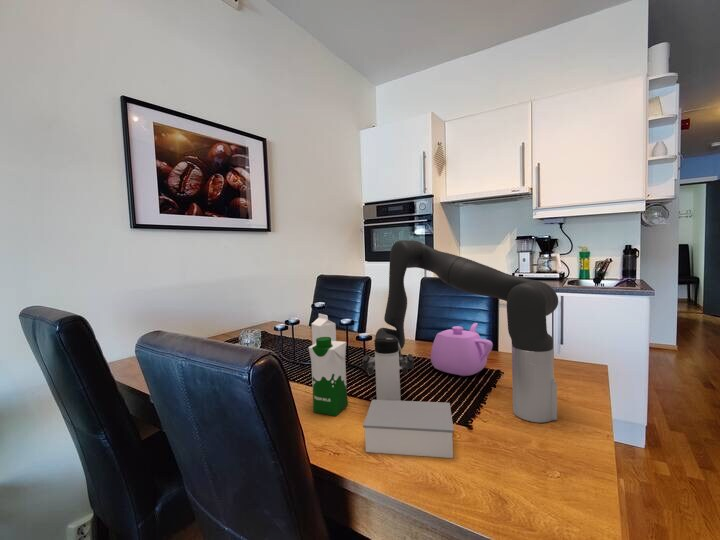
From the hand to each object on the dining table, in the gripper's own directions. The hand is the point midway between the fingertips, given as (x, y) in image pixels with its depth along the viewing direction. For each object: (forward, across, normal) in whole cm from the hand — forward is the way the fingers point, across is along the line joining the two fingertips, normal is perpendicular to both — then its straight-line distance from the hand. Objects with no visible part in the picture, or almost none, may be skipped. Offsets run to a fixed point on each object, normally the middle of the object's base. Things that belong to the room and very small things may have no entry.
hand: (387, 370), depth 91 cm
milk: (-24, -22, +11) cm, 35 cm away
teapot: (-32, +24, +11) cm, 42 cm away
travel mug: (+1, 0, +11) cm, 11 cm away
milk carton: (-2, -16, +11) cm, 20 cm away
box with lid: (+13, +5, +11) cm, 18 cm away
